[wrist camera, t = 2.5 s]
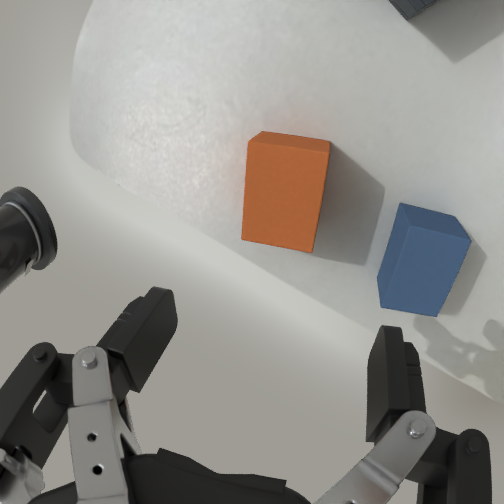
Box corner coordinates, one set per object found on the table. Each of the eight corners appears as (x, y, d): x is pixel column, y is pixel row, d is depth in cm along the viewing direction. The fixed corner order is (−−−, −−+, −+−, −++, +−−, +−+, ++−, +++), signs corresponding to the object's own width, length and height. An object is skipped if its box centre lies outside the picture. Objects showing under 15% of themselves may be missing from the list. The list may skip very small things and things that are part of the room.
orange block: (254, 216, 26) (241, 240, 22) (261, 130, 22) (247, 140, 19) (316, 227, 25) (312, 253, 22) (330, 141, 21) (329, 153, 18)
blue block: (376, 277, 26) (380, 308, 22) (399, 202, 22) (409, 225, 19) (427, 287, 25) (436, 317, 22) (455, 216, 21) (472, 240, 18)
